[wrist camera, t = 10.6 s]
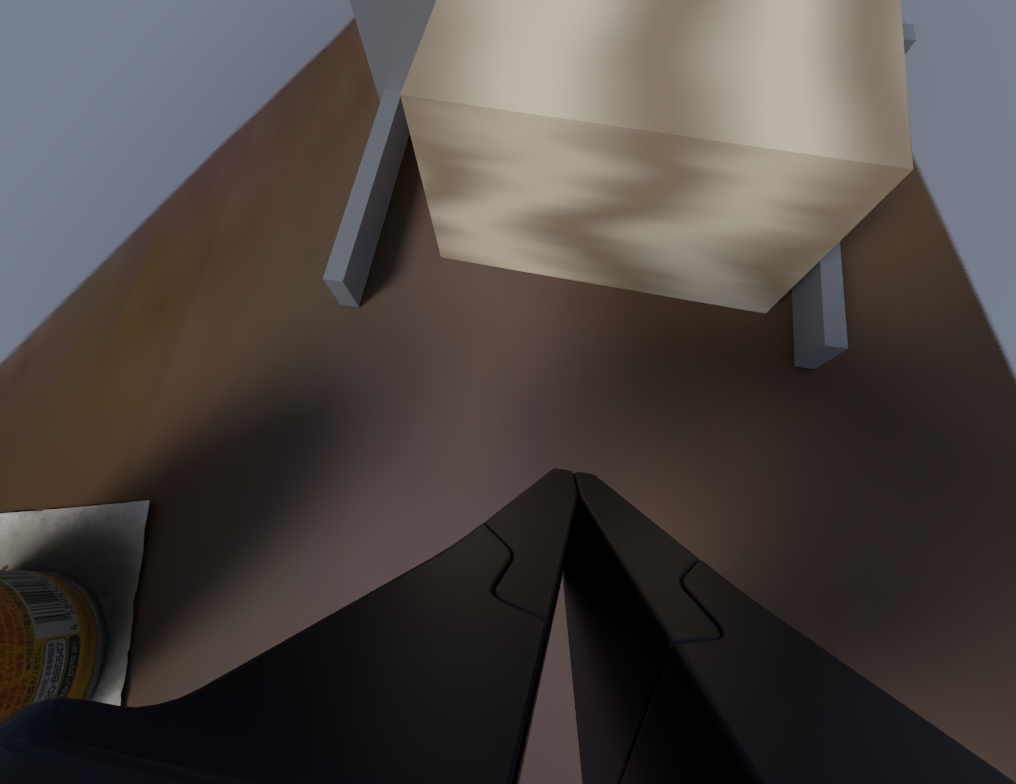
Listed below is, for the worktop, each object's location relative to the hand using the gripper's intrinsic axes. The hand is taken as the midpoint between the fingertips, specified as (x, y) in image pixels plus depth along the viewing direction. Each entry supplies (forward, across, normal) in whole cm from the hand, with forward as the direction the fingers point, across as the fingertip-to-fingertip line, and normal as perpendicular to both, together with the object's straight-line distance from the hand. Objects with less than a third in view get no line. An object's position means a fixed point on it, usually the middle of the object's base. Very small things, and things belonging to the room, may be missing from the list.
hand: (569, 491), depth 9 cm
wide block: (+16, +1, +4) cm, 16 cm away
